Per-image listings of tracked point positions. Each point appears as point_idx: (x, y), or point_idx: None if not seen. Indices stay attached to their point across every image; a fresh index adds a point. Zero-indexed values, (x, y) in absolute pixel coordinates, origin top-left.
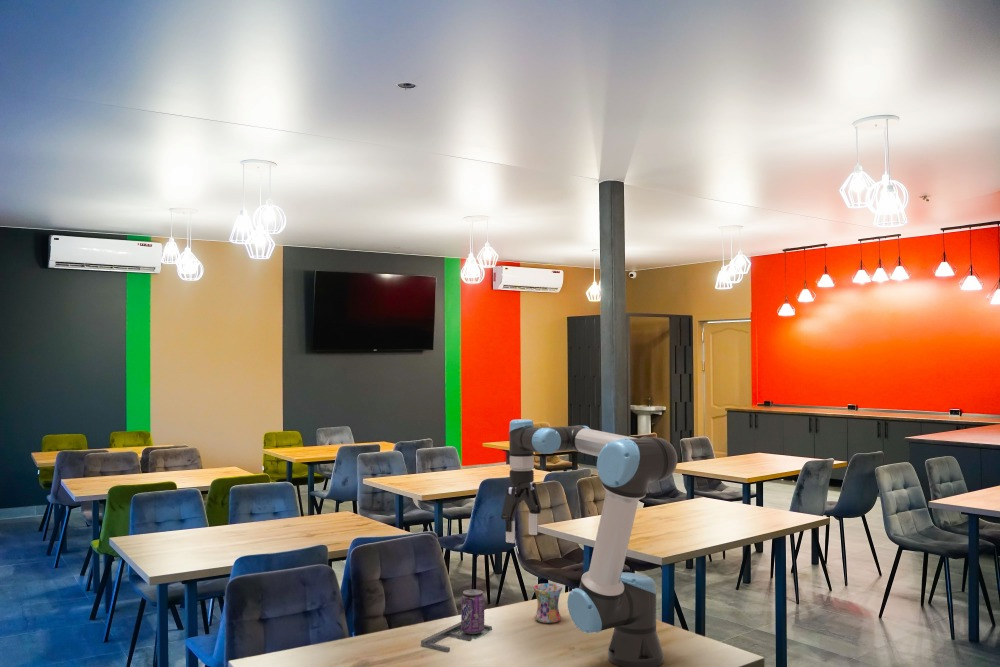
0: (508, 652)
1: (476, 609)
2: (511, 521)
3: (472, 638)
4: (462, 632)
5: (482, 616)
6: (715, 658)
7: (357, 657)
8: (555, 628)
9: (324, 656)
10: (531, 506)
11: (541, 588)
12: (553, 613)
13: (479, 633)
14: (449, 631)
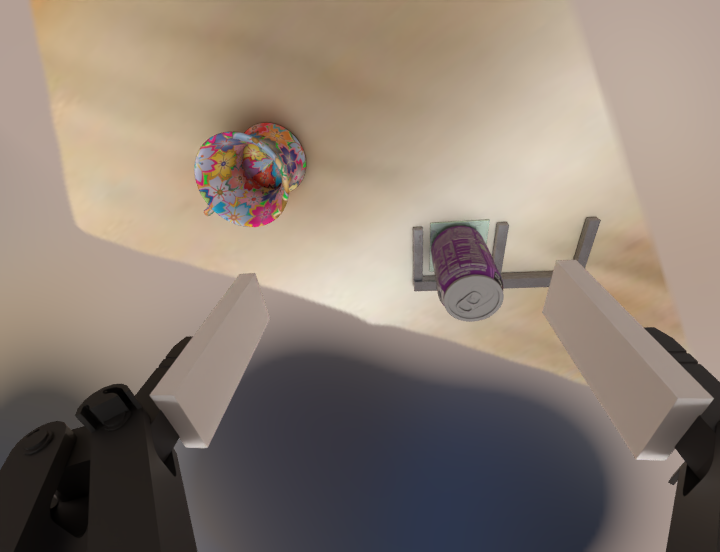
0: (543, 91)
1: (487, 256)
2: (702, 410)
3: (488, 226)
4: None
5: (464, 241)
6: None
7: (675, 326)
8: (309, 102)
9: None
10: (170, 518)
11: (240, 211)
12: (274, 136)
13: None
14: None
